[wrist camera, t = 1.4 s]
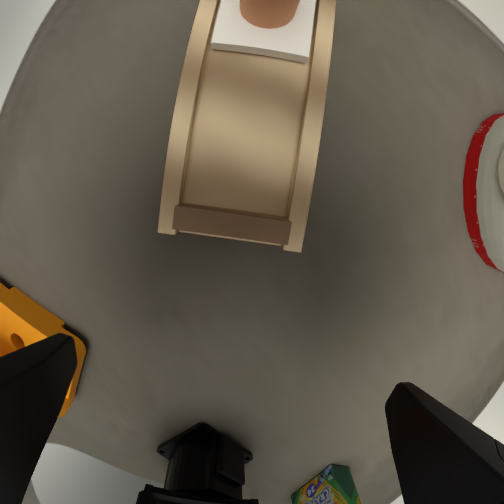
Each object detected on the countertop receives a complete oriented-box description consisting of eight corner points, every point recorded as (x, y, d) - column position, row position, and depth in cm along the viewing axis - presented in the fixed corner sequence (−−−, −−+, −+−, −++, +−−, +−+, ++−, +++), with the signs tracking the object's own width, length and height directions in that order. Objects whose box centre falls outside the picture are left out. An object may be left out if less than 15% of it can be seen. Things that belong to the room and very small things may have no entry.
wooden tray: (294, 244, 19) (304, 257, 16) (166, 226, 18) (152, 236, 15) (328, 4, 15) (341, -17, 12) (211, -14, 14) (208, -38, 11)
